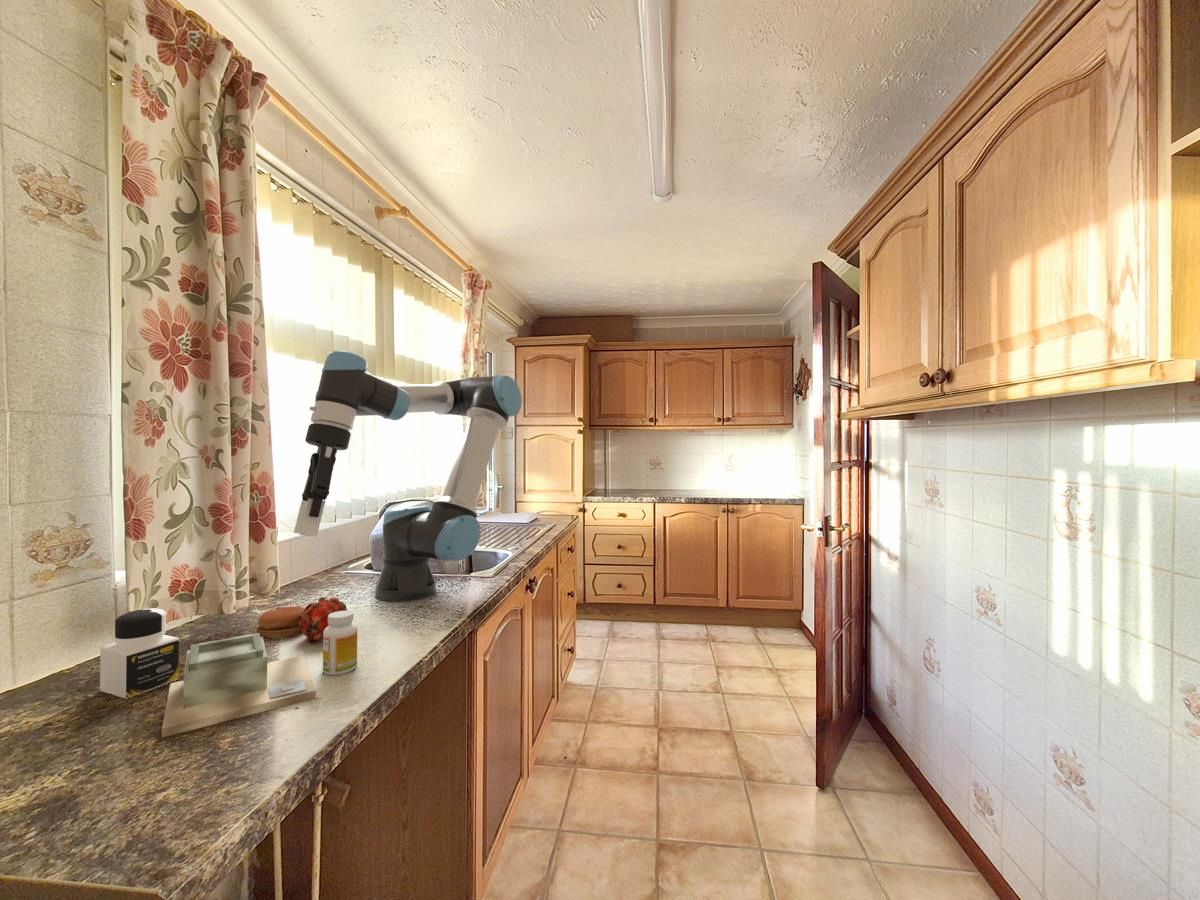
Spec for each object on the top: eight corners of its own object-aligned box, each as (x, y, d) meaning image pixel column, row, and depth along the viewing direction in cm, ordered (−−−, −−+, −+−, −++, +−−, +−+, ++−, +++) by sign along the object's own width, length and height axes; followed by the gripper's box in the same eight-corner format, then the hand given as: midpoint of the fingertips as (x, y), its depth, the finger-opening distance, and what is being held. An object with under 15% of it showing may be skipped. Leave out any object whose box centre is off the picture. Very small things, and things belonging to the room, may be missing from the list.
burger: (287, 641, 99) (287, 618, 99) (245, 639, 101) (245, 616, 101) (320, 624, 109) (320, 603, 109) (281, 622, 110) (282, 601, 110)
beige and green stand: (301, 662, 90) (302, 622, 90) (315, 697, 77) (316, 651, 77) (170, 690, 79) (171, 645, 79) (161, 737, 66) (162, 683, 66)
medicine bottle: (126, 700, 76) (127, 621, 76) (98, 691, 78) (99, 615, 78) (179, 680, 82) (180, 608, 82) (152, 673, 85) (153, 603, 85)
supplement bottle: (362, 662, 90) (363, 609, 90) (348, 676, 85) (348, 619, 85) (332, 662, 90) (333, 608, 90) (316, 676, 84) (316, 619, 84)
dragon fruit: (339, 632, 108) (315, 664, 97) (305, 612, 107) (275, 641, 95) (362, 602, 108) (340, 630, 96) (328, 581, 106) (301, 607, 95)
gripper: (303, 431, 106) (278, 530, 102) (316, 411, 86) (285, 533, 82) (342, 439, 110) (319, 535, 106) (362, 422, 90) (335, 539, 86)
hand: (304, 535), depth 94 cm, fingers open, 13 cm apart
